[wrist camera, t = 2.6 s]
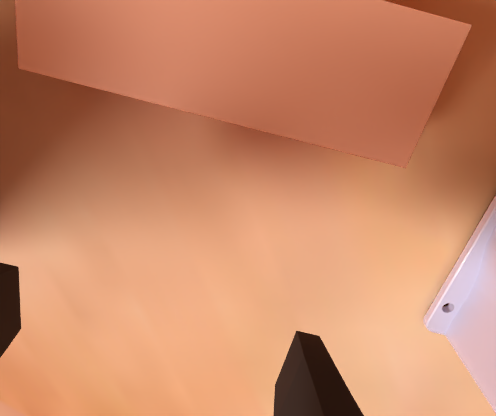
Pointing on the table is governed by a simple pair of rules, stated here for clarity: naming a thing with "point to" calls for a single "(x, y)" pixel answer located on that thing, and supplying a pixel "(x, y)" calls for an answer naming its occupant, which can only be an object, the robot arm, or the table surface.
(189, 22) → the T block
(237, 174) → the table surface
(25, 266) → the table surface
